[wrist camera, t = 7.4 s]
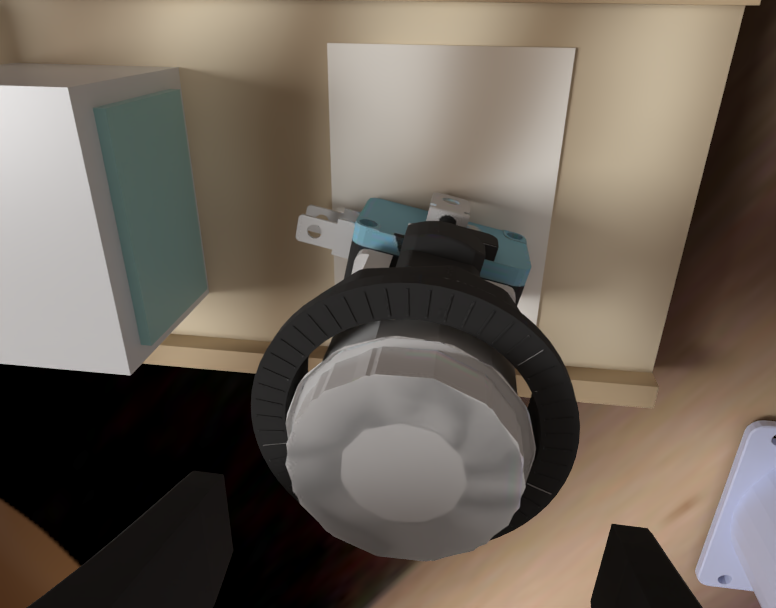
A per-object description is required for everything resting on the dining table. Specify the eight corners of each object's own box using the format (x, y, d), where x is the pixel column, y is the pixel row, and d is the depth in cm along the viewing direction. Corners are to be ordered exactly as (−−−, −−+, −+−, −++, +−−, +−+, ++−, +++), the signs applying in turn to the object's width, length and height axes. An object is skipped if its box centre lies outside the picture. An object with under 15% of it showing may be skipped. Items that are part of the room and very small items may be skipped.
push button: (298, 285, 19) (138, 528, 10) (326, 119, 16) (149, 242, 8) (499, 339, 19) (519, 632, 10) (557, 179, 16) (656, 377, 7)
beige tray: (730, -29, 15) (806, -42, 11) (635, 368, 20) (668, 441, 17) (-51, -34, 18) (-180, -45, 14) (49, 321, 23) (-28, 376, 19)
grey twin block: (188, 67, 16) (81, 88, 12) (217, 293, 20) (141, 376, 15) (14, 62, 17) (-150, 80, 13) (69, 282, 20) (-46, 359, 16)
